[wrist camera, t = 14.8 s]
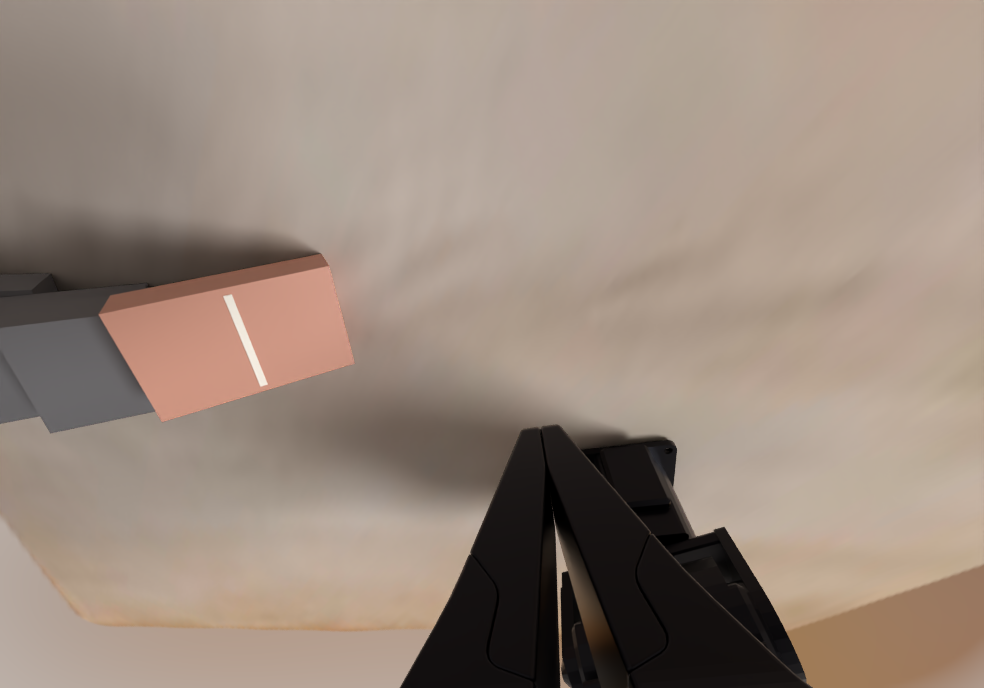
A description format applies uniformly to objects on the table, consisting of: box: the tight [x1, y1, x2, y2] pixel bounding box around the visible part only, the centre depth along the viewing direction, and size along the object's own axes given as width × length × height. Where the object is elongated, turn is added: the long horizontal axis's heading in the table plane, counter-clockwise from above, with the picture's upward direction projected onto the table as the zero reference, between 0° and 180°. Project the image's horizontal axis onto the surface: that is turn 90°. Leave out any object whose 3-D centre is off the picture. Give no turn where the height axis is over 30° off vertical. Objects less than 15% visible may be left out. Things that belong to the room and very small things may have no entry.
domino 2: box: [0, 296, 155, 433], centre depth 19 cm, size 5×2×8 cm
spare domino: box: [98, 254, 355, 422], centre depth 19 cm, size 5×2×8 cm
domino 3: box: [0, 283, 149, 424], centre depth 19 cm, size 5×2×8 cm
